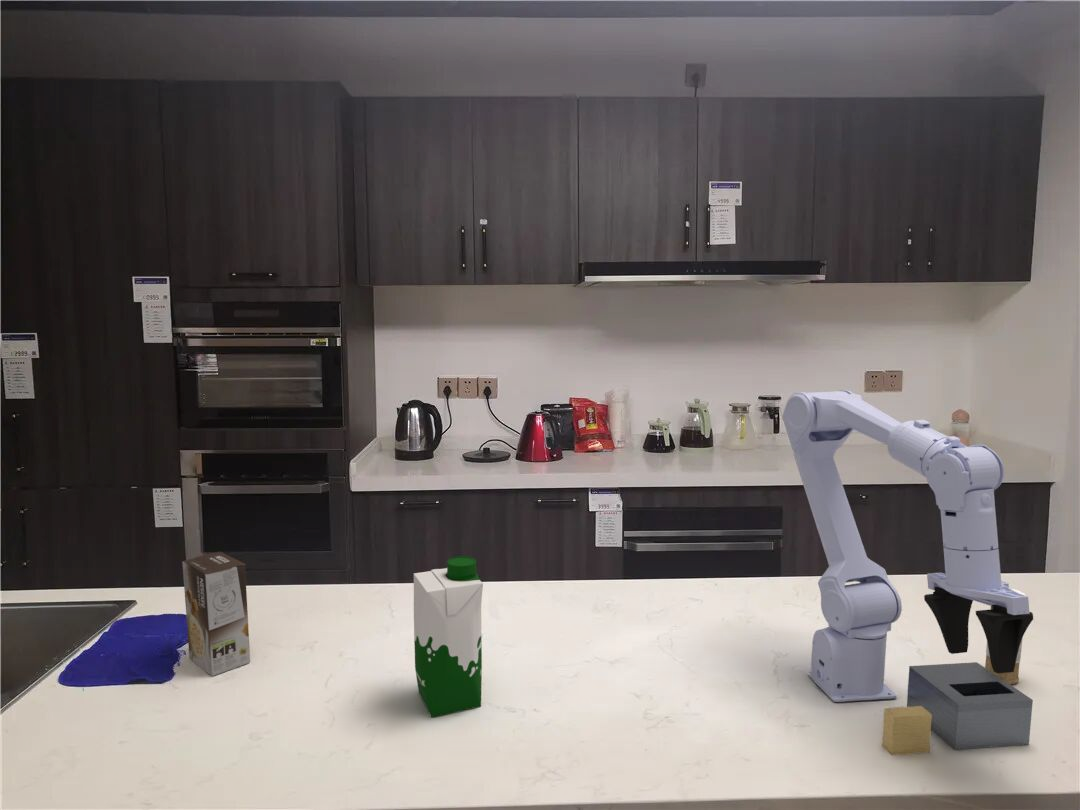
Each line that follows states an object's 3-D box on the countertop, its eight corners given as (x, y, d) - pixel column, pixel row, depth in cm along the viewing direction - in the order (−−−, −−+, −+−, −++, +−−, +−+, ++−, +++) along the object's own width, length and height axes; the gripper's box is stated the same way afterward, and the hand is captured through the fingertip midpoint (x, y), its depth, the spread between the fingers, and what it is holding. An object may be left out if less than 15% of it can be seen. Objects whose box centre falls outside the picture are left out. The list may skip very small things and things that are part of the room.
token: (891, 755, 90) (893, 717, 90) (881, 745, 92) (884, 708, 92) (929, 752, 91) (931, 714, 90) (918, 742, 93) (921, 706, 92)
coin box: (955, 749, 91) (958, 704, 90) (906, 707, 101) (909, 666, 100) (1028, 744, 92) (1032, 699, 91) (973, 702, 102) (976, 662, 101)
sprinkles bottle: (976, 671, 111) (983, 586, 109) (1004, 670, 111) (1011, 585, 110) (998, 686, 106) (1005, 598, 105) (1027, 685, 107) (1035, 597, 105)
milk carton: (489, 708, 101) (488, 568, 98) (425, 723, 97) (422, 578, 95) (470, 679, 109) (468, 549, 106) (410, 691, 105) (406, 557, 103)
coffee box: (252, 662, 114) (247, 563, 112) (211, 677, 109) (205, 574, 107) (226, 644, 120) (221, 550, 118) (186, 657, 115) (180, 560, 113)
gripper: (1049, 553, 81) (1060, 678, 80) (959, 536, 95) (967, 641, 95) (991, 558, 80) (1002, 684, 79) (909, 540, 94) (917, 646, 94)
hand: (979, 661), depth 87 cm, fingers open, 7 cm apart
